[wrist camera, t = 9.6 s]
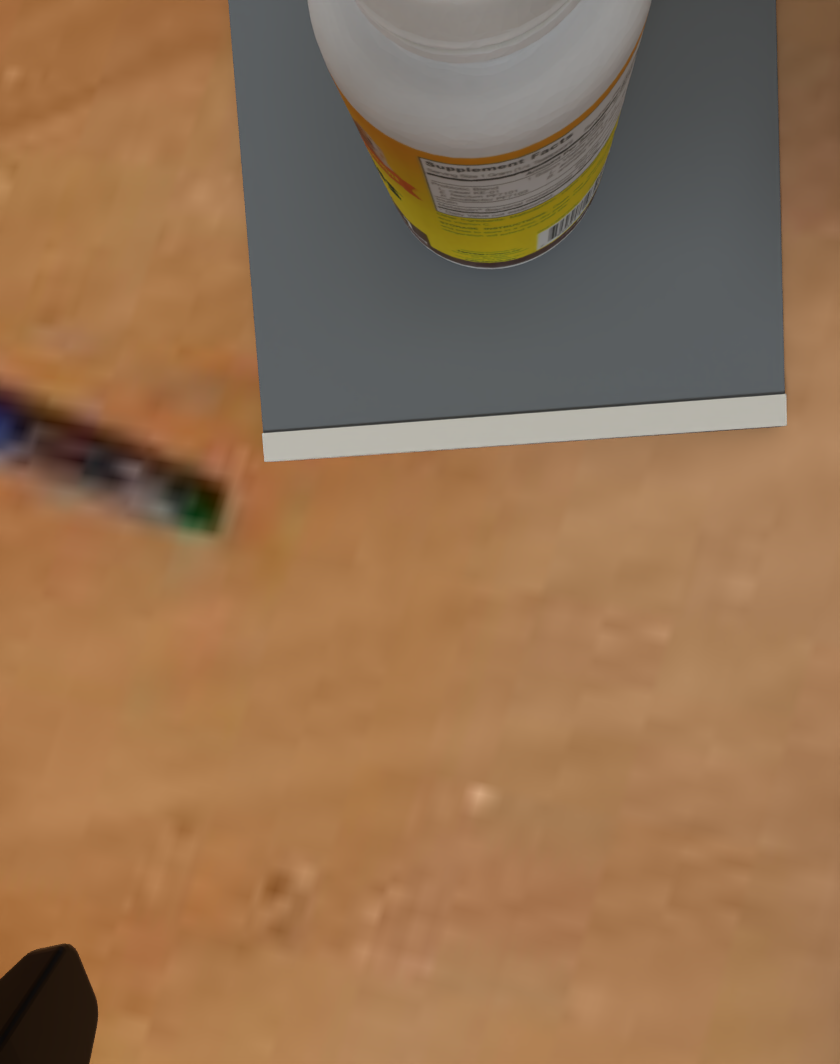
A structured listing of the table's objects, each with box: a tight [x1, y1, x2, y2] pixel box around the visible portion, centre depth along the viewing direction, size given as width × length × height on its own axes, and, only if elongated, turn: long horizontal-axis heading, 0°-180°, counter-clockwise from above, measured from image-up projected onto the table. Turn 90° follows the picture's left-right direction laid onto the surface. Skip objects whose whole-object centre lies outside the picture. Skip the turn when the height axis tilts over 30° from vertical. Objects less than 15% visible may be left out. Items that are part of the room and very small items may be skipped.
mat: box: [228, 0, 787, 462], centre depth 19 cm, size 14×14×1 cm
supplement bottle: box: [307, 0, 652, 269], centre depth 14 cm, size 6×6×10 cm
